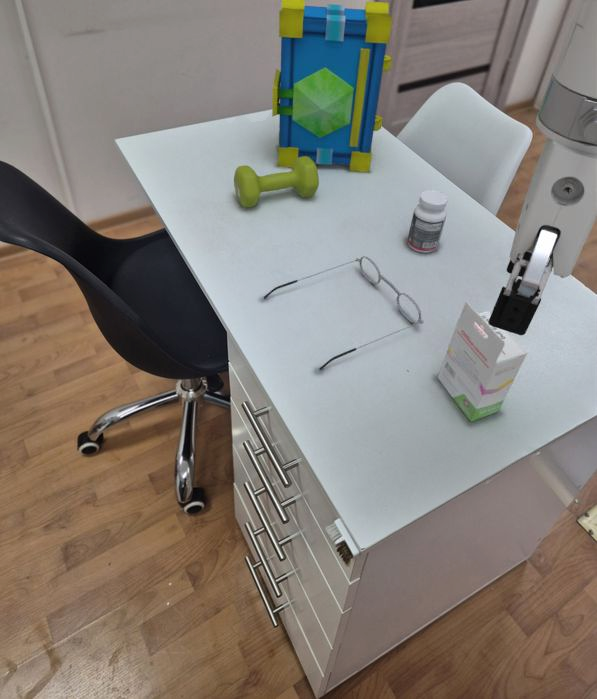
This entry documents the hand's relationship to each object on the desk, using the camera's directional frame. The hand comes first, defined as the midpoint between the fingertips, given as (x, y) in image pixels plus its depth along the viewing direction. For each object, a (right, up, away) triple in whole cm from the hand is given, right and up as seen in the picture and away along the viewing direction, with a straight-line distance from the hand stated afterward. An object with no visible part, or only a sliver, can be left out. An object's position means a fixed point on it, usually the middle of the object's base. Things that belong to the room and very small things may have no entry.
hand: (514, 299), depth 51 cm
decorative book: (-14, +38, +72) cm, 82 cm away
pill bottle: (+3, +15, +51) cm, 53 cm away
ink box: (+3, -11, +26) cm, 28 cm away
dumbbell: (-25, +26, +59) cm, 69 cm away
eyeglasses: (-13, +1, +36) cm, 39 cm away
